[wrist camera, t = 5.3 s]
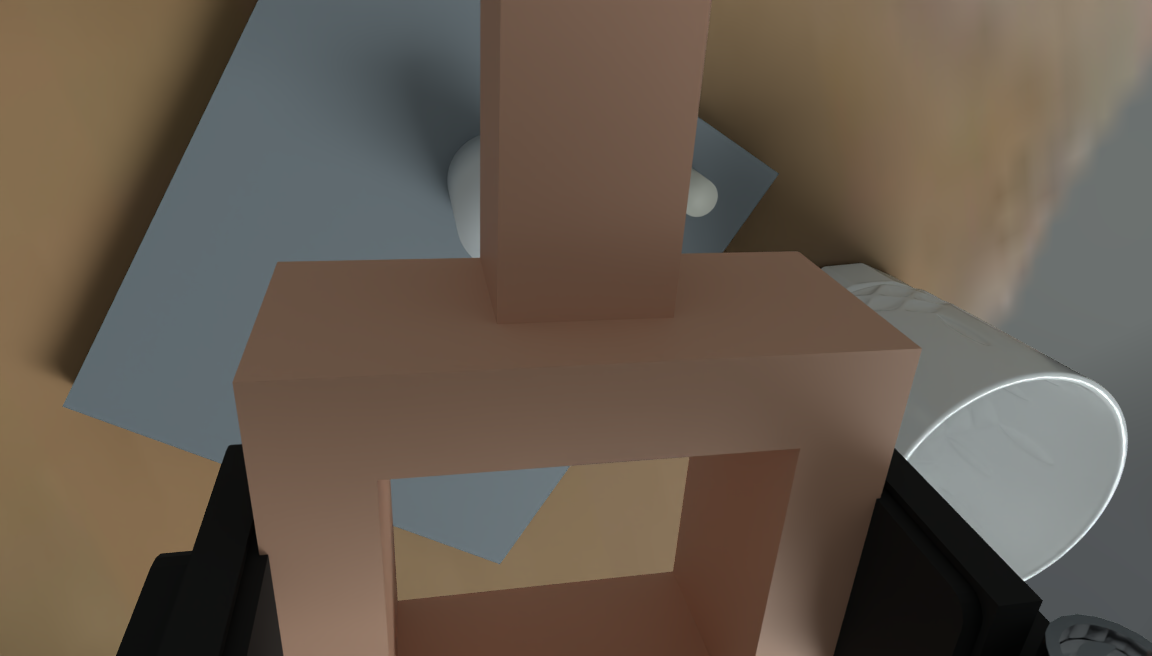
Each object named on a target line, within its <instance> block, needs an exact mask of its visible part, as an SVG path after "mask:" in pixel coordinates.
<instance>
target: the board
mask: <svg viewBox="0 0 1152 656" xmlns="http://www.w3.org/2000/svg"><path fill="white" fill-rule="evenodd" d="M778 174H779V173H777V172H776V171H774V170H773V169H771V168H770V167H769V166H767V165H766V164H764V163H763V162H761V161H760V160H759V159H757V158H756V157H754V156H753V155H752V154H750V153H749V152H747V151H746V150H744V149H743V148H742V147H740V146H739V145H737V144H736V143H735V142H733V141H732V140H730V139H729V138H727V137H726V136H725V135H723V134H722V133H720V132H719V131H717V130H716V129H715V128H713V127H712V126H710V125H709V124H708V123H706V122H705V121H703V120H702V119H700V118H699V117H698V119H697V128H696V136H695V144H694V153H693V161H692V169H691V178H690V186H689V194H688V202H687V211H686V219H685V227H684V236H683V244H682V252H681V254H686V253H723V251H724V250H725V248H726V247H727V246H728V244H729V243H730V241H731V240H732V239H733V237H734V236H735V234H736V233H737V232H738V230H739V229H740V227H741V226H742V225H743V223H744V222H745V221H746V219H747V218H748V216H749V215H750V214H751V212H752V211H753V209H754V208H755V207H756V205H757V204H758V202H759V201H760V200H761V198H762V197H763V195H764V194H765V193H766V191H767V190H768V188H769V187H770V186H771V184H772V183H773V181H774V180H775V179H776V177H777V176H778ZM439 258H480V0H258V2H257V4H256V6H255V8H254V10H253V12H252V14H251V16H250V18H249V21H248V23H247V25H246V27H245V29H244V31H243V33H242V35H241V37H240V39H239V41H238V43H237V45H236V48H235V50H234V52H233V54H232V56H231V58H230V60H229V62H228V64H227V66H226V68H225V70H224V72H223V75H222V77H221V79H220V81H219V83H218V85H217V87H216V89H215V91H214V93H213V95H212V97H211V99H210V101H209V104H208V106H207V108H206V110H205V112H204V114H203V116H202V118H201V120H200V122H199V124H198V126H197V128H196V131H195V133H194V135H193V137H192V139H191V141H190V143H189V145H188V147H187V149H186V151H185V153H184V155H183V158H182V160H181V162H180V164H179V166H178V168H177V170H176V172H175V174H174V176H173V178H172V180H171V182H170V185H169V187H168V189H167V191H166V193H165V195H164V197H163V199H162V201H161V203H160V205H159V207H158V209H157V212H156V214H155V216H154V218H153V220H152V222H151V224H150V226H149V228H148V230H147V232H146V234H145V236H144V239H143V241H142V243H141V245H140V247H139V249H138V251H137V253H136V255H135V257H134V259H133V261H132V263H131V266H130V268H129V270H128V272H127V274H126V276H125V278H124V280H123V282H122V284H121V286H120V288H119V290H118V293H117V295H116V297H115V299H114V301H113V303H112V305H111V307H110V309H109V311H108V313H107V315H106V317H105V320H104V322H103V324H102V326H101V328H100V330H99V332H98V334H97V336H96V338H95V340H94V342H93V344H92V346H91V349H90V351H89V353H88V355H87V357H86V359H85V361H84V363H83V365H82V367H81V369H80V371H79V373H78V376H77V378H76V380H75V382H74V384H73V386H72V388H71V390H70V392H69V394H68V396H67V398H66V400H65V403H64V405H63V407H66V408H68V409H71V410H74V411H77V412H80V413H82V414H85V415H88V416H91V417H93V418H96V419H99V420H102V421H105V422H107V423H110V424H113V425H116V426H118V427H121V428H124V429H127V430H129V431H132V432H135V433H138V434H141V435H143V436H146V437H149V438H152V439H154V440H157V441H160V442H163V443H166V444H168V445H171V446H174V447H177V448H179V449H182V450H185V451H188V452H190V453H193V454H196V455H199V456H202V457H204V458H207V459H210V460H213V461H215V462H218V463H221V464H222V461H223V458H224V455H225V452H226V450H227V448H228V446H229V445H235V444H242V441H241V435H240V428H239V422H238V415H237V409H236V403H235V396H234V390H233V384H232V382H233V379H234V377H235V374H236V371H237V369H238V366H239V363H240V361H241V358H242V355H243V353H244V350H245V347H246V345H247V342H248V339H249V337H250V334H251V331H252V329H253V326H254V323H255V321H256V318H257V315H258V312H259V310H260V307H261V304H262V302H263V299H264V296H265V294H266V291H267V288H268V286H269V283H270V280H271V278H272V275H273V272H274V270H275V267H276V264H277V262H292V261H341V260H390V259H439ZM569 467H570V466H561V467H547V468H534V469H521V470H508V471H495V472H481V473H468V474H455V475H442V476H428V477H415V478H402V479H390V482H391V499H392V516H393V526H396V527H398V528H401V529H404V530H407V531H410V532H412V533H415V534H418V535H421V536H423V537H426V538H429V539H432V540H435V541H437V542H440V543H443V544H446V545H448V546H451V547H454V548H457V549H459V550H462V551H465V552H468V553H471V554H473V555H476V556H479V557H482V558H484V559H487V560H490V561H493V562H496V563H498V564H500V563H501V562H502V560H503V559H504V558H505V556H506V555H507V553H508V552H509V551H510V549H511V548H512V546H513V545H514V544H515V542H516V541H517V539H518V538H519V537H520V535H521V534H522V532H523V531H524V530H525V528H526V527H527V525H528V524H529V523H530V521H531V520H532V518H533V517H534V516H535V514H536V513H537V511H538V510H539V509H540V507H541V506H542V504H543V503H544V502H545V500H546V499H547V497H548V496H549V495H550V493H551V492H552V490H553V489H554V488H555V486H556V485H557V483H558V482H559V481H560V479H561V478H562V476H563V475H564V474H565V472H566V471H567V469H568V468H569Z"/></svg>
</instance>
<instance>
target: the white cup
mask: <svg viewBox="0 0 1152 656" xmlns="http://www.w3.org/2000/svg"><path fill="white" fill-rule="evenodd" d="M821 269H822V270H823V271H824V272H825V273H827V274H828V275H829V276H830V277H832V278H833V279H834V280H836V281H837V282H838V283H839V284H841V285H842V286H843V287H844V288H846V289H847V290H848V291H850V292H851V293H852V294H853V295H855V296H856V297H857V298H858V299H860V300H861V301H862V302H864V303H865V304H866V305H867V306H869V307H870V308H871V309H872V310H874V311H875V312H876V313H878V314H879V315H880V316H881V317H883V318H884V319H885V320H886V321H888V322H889V323H890V324H892V325H893V326H894V327H895V328H897V329H898V330H899V331H900V332H902V333H903V334H904V335H906V336H907V337H908V338H909V339H911V340H912V341H913V342H914V343H916V344H917V345H918V346H920V347H921V348H922V351H921V354H920V358H919V361H918V365H917V369H916V372H915V376H914V379H913V383H912V387H911V390H910V394H909V397H908V401H907V405H906V408H905V412H904V415H903V419H902V423H901V426H900V430H899V433H898V437H897V440H896V444H895V449H896V450H897V451H898V452H899V453H900V454H901V455H902V456H903V457H904V458H905V459H906V460H907V461H908V462H909V463H910V464H911V465H912V466H913V467H914V468H915V469H916V470H917V471H918V472H919V473H920V474H921V475H922V476H923V478H924V479H925V480H926V481H927V482H928V483H929V484H930V485H931V486H932V487H933V488H934V489H935V490H936V491H937V492H938V493H939V494H940V495H941V496H942V497H943V498H944V499H945V500H946V501H947V502H948V503H949V504H950V505H951V506H952V507H953V509H954V510H955V511H956V512H957V513H958V514H959V515H960V516H961V517H962V518H963V519H964V520H965V521H966V522H967V523H968V524H969V525H970V526H971V527H972V528H973V529H974V530H975V531H976V532H977V533H978V534H979V535H980V536H981V537H982V538H983V540H984V541H985V542H986V543H987V544H988V545H989V546H990V547H991V548H992V549H993V550H994V551H995V552H996V553H997V554H998V555H999V556H1000V557H1001V558H1002V559H1003V560H1004V561H1005V562H1006V563H1007V564H1008V565H1009V566H1010V567H1011V568H1012V569H1013V570H1014V572H1015V573H1016V574H1017V575H1018V576H1019V577H1020V578H1021V579H1022V580H1023V581H1026V580H1028V579H1029V578H1031V577H1033V576H1035V575H1036V574H1038V573H1040V572H1041V571H1043V570H1044V569H1046V568H1047V567H1049V566H1050V565H1052V564H1053V563H1054V562H1056V561H1057V560H1058V559H1060V558H1061V557H1062V556H1063V555H1064V554H1066V553H1067V552H1068V551H1069V550H1070V549H1071V548H1072V547H1073V546H1074V545H1075V544H1076V543H1078V542H1079V541H1080V540H1081V539H1082V537H1083V536H1084V535H1085V534H1086V533H1087V532H1088V531H1089V530H1090V528H1091V527H1092V526H1093V525H1094V524H1095V522H1096V521H1097V520H1098V518H1099V517H1100V516H1101V514H1102V513H1103V511H1104V510H1105V508H1106V506H1107V505H1108V503H1109V501H1110V500H1111V498H1112V496H1113V494H1114V492H1115V490H1116V488H1117V486H1118V483H1119V481H1120V478H1121V475H1122V472H1123V469H1124V465H1125V460H1126V455H1127V446H1128V436H1127V427H1126V422H1125V419H1124V415H1123V413H1122V410H1121V409H1120V406H1119V405H1118V403H1117V402H1116V400H1115V399H1114V397H1113V396H1112V395H1111V394H1110V393H1109V392H1108V391H1107V390H1106V389H1105V388H1104V387H1102V386H1101V385H1100V384H1098V383H1096V382H1095V381H1093V380H1091V379H1089V378H1087V377H1085V376H1084V375H1082V374H1080V373H1078V372H1076V371H1074V370H1072V369H1070V368H1069V367H1067V366H1065V365H1063V364H1061V363H1060V362H1058V361H1056V360H1054V359H1052V358H1050V357H1048V356H1047V355H1045V354H1043V353H1041V352H1039V351H1038V350H1036V349H1034V348H1032V347H1030V346H1028V345H1026V344H1025V343H1023V342H1021V341H1019V340H1018V339H1016V338H1014V337H1012V336H1010V335H1009V334H1007V333H1005V332H1003V331H1001V330H999V329H998V328H996V327H994V326H992V325H990V324H989V323H987V322H985V321H983V320H981V319H979V318H978V317H976V316H974V315H972V314H970V313H968V312H966V311H965V310H963V309H961V308H959V307H957V306H955V305H953V304H951V303H949V302H946V301H943V300H941V299H940V298H938V297H936V296H934V295H932V294H931V293H929V292H927V291H925V290H922V289H916V288H913V287H911V286H909V285H908V284H906V283H904V282H902V281H901V280H899V279H897V278H895V277H893V276H891V275H889V274H886V273H884V272H882V271H880V270H877V269H875V268H873V267H870V266H868V265H866V264H863V263H856V264H845V265H834V266H825V267H823V268H821Z"/></svg>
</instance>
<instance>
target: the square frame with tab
mask: <svg viewBox="0 0 1152 656" xmlns="http://www.w3.org/2000/svg"><path fill="white" fill-rule="evenodd" d="M711 3H712V0H480V258H439V259H390V260H341V261H292V262H277V264H276V267H275V270H274V272H273V275H272V278H271V280H270V283H269V286H268V288H267V291H266V294H265V296H264V299H263V302H262V304H261V307H260V310H259V312H258V315H257V318H256V321H255V323H254V326H253V329H252V331H251V334H250V337H249V339H248V342H247V345H246V347H245V350H244V353H243V355H242V358H241V361H240V363H239V366H238V369H237V371H236V374H235V377H234V379H233V382H232V384H233V390H234V396H235V403H236V409H237V415H238V422H239V428H240V435H241V441H242V447H243V454H244V460H245V466H246V473H247V479H248V485H249V492H250V498H251V505H252V511H253V517H254V524H255V530H256V536H257V543H258V549H259V555H266V554H268V556H269V562H270V569H271V576H272V582H273V589H274V595H275V602H276V609H277V615H278V622H279V629H280V635H281V642H282V649H283V655H284V656H833V655H834V651H835V647H836V644H837V640H838V637H839V633H840V629H841V626H842V622H843V619H844V615H845V611H846V608H847V604H848V600H849V597H850V593H851V590H852V586H853V582H854V579H855V575H856V571H857V568H858V564H859V561H860V557H861V553H862V550H863V546H864V542H865V539H866V535H867V532H868V528H869V524H870V521H871V517H872V513H873V510H874V506H875V503H876V499H878V498H881V494H882V491H883V487H884V484H885V480H886V476H887V473H888V469H889V466H890V462H891V458H892V455H893V451H894V448H895V444H896V440H897V437H898V433H899V430H900V426H901V423H902V419H903V415H904V412H905V408H906V405H907V401H908V397H909V394H910V390H911V387H912V383H913V379H914V376H915V372H916V369H917V365H918V361H919V358H920V354H921V351H922V348H921V347H920V346H918V345H917V344H916V343H914V342H913V341H912V340H911V339H909V338H908V337H907V336H906V335H904V334H903V333H902V332H900V331H899V330H898V329H897V328H895V327H894V326H893V325H892V324H890V323H889V322H888V321H886V320H885V319H884V318H883V317H881V316H880V315H879V314H878V313H876V312H875V311H874V310H872V309H871V308H870V307H869V306H867V305H866V304H865V303H864V302H862V301H861V300H860V299H858V298H857V297H856V296H855V295H853V294H852V293H851V292H850V291H848V290H847V289H846V288H844V287H843V286H842V285H841V284H839V283H838V282H837V281H836V280H834V279H833V278H832V277H830V276H829V275H828V274H827V273H825V272H824V271H823V270H822V269H820V268H819V267H818V266H816V265H815V264H814V263H813V262H811V261H810V260H809V259H808V258H806V257H805V256H804V255H802V254H801V253H800V252H799V251H784V252H735V253H686V254H681V252H682V244H683V236H684V227H685V219H686V211H687V202H688V194H689V186H690V178H691V169H692V161H693V153H694V144H695V136H696V128H697V119H698V111H699V103H700V95H701V86H702V78H703V70H704V61H705V53H706V45H707V36H708V28H709V20H710V12H711ZM680 457H689V464H688V471H687V478H686V485H685V492H684V499H683V506H682V513H681V520H680V527H679V534H678V541H677V548H676V555H675V562H674V569H673V572H666V573H656V574H647V575H637V576H628V577H619V578H609V579H600V580H590V581H581V582H572V583H562V584H553V585H543V586H534V587H525V588H515V589H506V590H496V591H487V592H478V593H468V594H459V595H449V596H440V597H431V598H421V599H412V600H402V601H398V600H397V583H396V566H395V549H394V533H393V516H392V499H391V482H390V479H402V478H415V477H428V476H442V475H455V474H468V473H481V472H495V471H508V470H521V469H534V468H547V467H561V466H574V465H587V464H600V463H614V462H627V461H640V460H653V459H666V458H680Z"/></svg>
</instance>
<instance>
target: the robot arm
mask: <svg viewBox="0 0 1152 656" xmlns="http://www.w3.org/2000/svg"><path fill="white" fill-rule="evenodd" d="M1042 601H1043V600H1041V599H1040V597H1039V596H1038V595H1037V594H1036V593H1035V592H1034V591H1033V590H1032V589H1031V588H1030V587H1029V586H1028V585H1027V584H1026V583H1025V582H1024V581H1023V580H1022V579H1021V578H1020V577H1019V576H1018V575H1017V574H1016V573H1015V572H1014V570H1013V569H1012V568H1011V567H1010V566H1009V565H1008V564H1007V563H1006V562H1005V561H1004V560H1003V559H1002V558H1001V557H1000V556H999V555H998V554H997V553H996V552H995V551H994V550H993V549H992V548H991V547H990V546H989V545H988V544H987V543H986V542H985V541H984V540H983V538H982V537H981V536H980V535H979V534H978V533H977V532H976V531H975V530H974V529H973V528H972V527H971V526H970V525H969V524H968V523H967V522H966V521H965V520H964V519H963V518H962V517H961V516H960V515H959V514H958V513H957V512H956V511H955V510H954V509H953V507H952V506H951V505H950V504H949V503H948V502H947V501H946V500H945V499H944V498H943V497H942V496H941V495H940V494H939V493H938V492H937V491H936V490H935V489H934V488H933V487H932V486H931V485H930V484H929V483H928V482H927V481H926V480H925V479H924V478H923V476H922V475H921V474H920V473H919V472H918V471H917V470H916V469H915V468H914V467H913V466H912V465H911V464H910V463H909V462H908V461H907V460H906V459H905V458H904V457H903V456H902V455H901V454H900V453H899V452H898V451H897V450H896V449H895V448H894V451H893V455H892V458H891V462H890V466H889V469H888V473H887V476H886V480H885V484H884V487H883V491H882V494H881V498H878V499H876V503H875V506H874V510H873V513H872V517H871V521H870V524H869V528H868V532H867V535H866V539H865V542H864V546H863V550H862V553H861V557H860V561H859V564H858V568H857V571H856V575H855V579H854V582H853V586H852V590H851V593H850V597H849V600H848V604H847V608H846V611H845V615H844V619H843V622H842V626H841V629H840V633H839V637H838V640H837V644H836V647H835V651H834V655H833V656H1152V643H1151V642H1150V641H1149V640H1147V639H1145V638H1144V637H1143V636H1141V635H1140V634H1138V633H1136V632H1134V631H1132V630H1130V629H1128V628H1126V627H1124V626H1122V625H1120V624H1118V623H1114V622H1111V621H1108V620H1105V619H1102V618H1098V617H1095V616H1087V615H1079V614H1075V615H1067V616H1061V617H1059V618H1057V619H1055V620H1054V621H1052V622H1049V621H1048V620H1047V619H1046V618H1045V617H1044V616H1043V615H1042V614H1041V613H1040V612H1039V611H1038V610H1039V608H1040V606H1041V603H1042ZM116 656H284V655H283V649H282V642H281V635H280V629H279V622H278V615H277V609H276V602H275V595H274V589H273V582H272V576H271V569H270V562H269V556H268V554H266V555H259V549H258V543H257V536H256V530H255V524H254V517H253V511H252V505H251V498H250V492H249V485H248V479H247V473H246V466H245V460H244V454H243V447H242V444H235V445H229V446H228V448H227V450H226V452H225V455H224V458H223V461H222V464H221V467H220V470H219V473H218V476H217V479H216V482H215V485H214V488H213V491H212V494H211V497H210V500H209V503H208V506H207V509H206V512H205V515H204V518H203V521H202V524H201V527H200V530H199V533H198V536H197V539H196V542H195V544H194V547H193V550H192V551H185V552H174V553H163V554H160V555H159V556H158V557H156V558H155V560H154V562H153V564H152V566H151V568H150V571H149V573H148V576H147V578H146V581H145V583H144V586H143V588H142V591H141V594H140V596H139V599H138V601H137V604H136V606H135V609H134V611H133V614H132V616H131V619H130V622H129V624H128V627H127V629H126V632H125V634H124V637H123V639H122V642H121V644H120V647H119V650H118V652H117V655H116Z"/></svg>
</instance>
